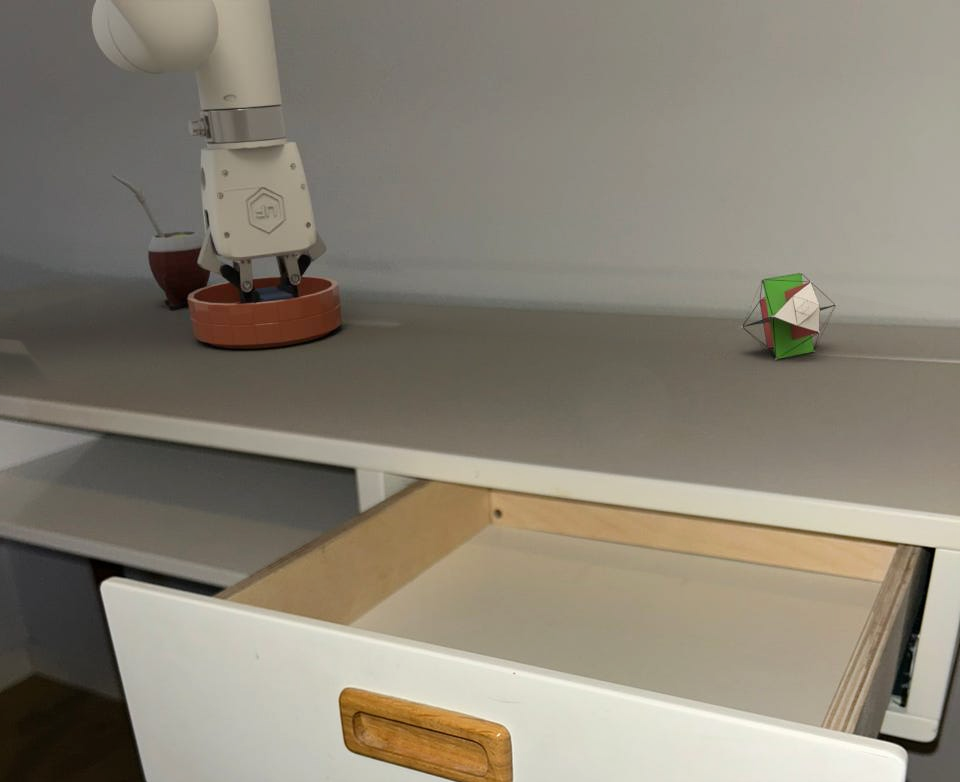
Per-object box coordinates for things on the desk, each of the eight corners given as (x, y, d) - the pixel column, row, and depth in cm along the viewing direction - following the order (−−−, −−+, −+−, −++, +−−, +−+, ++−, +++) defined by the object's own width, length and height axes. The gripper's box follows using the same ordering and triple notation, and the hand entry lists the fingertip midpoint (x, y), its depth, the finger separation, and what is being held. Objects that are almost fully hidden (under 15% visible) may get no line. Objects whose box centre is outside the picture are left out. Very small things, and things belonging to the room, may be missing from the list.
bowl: (220, 359, 103) (212, 311, 101) (179, 332, 115) (171, 289, 112) (365, 334, 109) (360, 288, 107) (311, 311, 121) (306, 270, 119)
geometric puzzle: (717, 323, 95) (756, 254, 88) (778, 312, 97) (821, 244, 90) (755, 386, 92) (799, 319, 85) (817, 372, 95) (865, 307, 88)
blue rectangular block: (269, 334, 107) (264, 298, 105) (250, 325, 112) (245, 290, 110) (297, 330, 108) (292, 294, 106) (277, 320, 113) (272, 286, 111)
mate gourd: (228, 299, 130) (207, 165, 123) (188, 313, 124) (163, 172, 117) (179, 297, 133) (155, 167, 126) (137, 311, 127) (109, 174, 120)
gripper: (169, 137, 95) (206, 346, 104) (340, 123, 101) (361, 320, 110) (149, 135, 101) (185, 333, 109) (311, 122, 107) (333, 310, 116)
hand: (273, 325), depth 110 cm, fingers closed on blue rectangular block, 3 cm apart
